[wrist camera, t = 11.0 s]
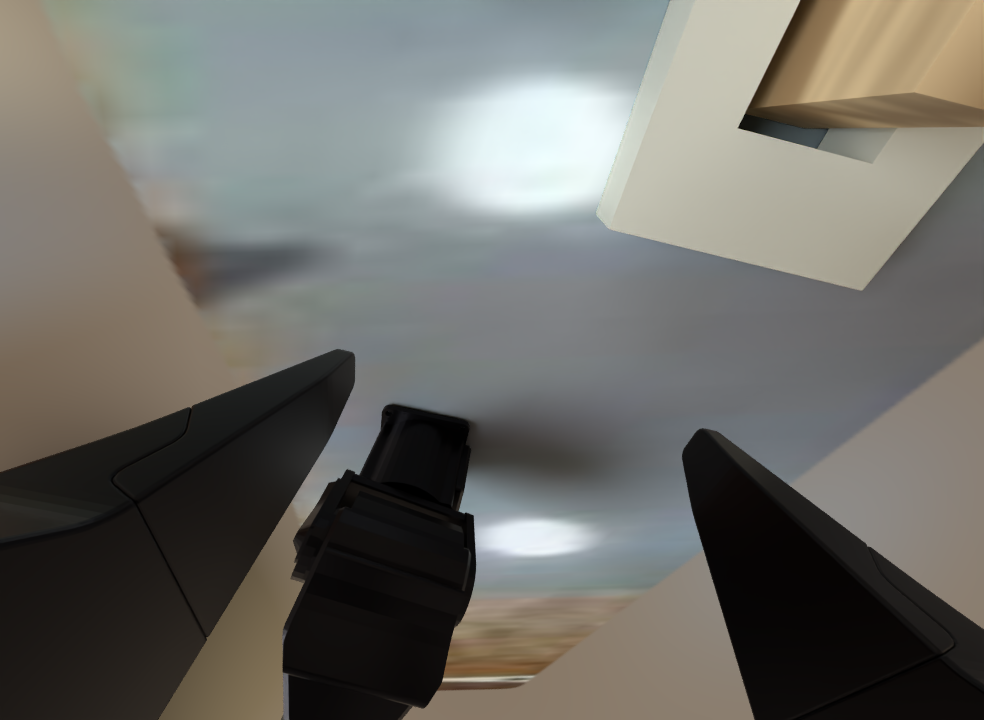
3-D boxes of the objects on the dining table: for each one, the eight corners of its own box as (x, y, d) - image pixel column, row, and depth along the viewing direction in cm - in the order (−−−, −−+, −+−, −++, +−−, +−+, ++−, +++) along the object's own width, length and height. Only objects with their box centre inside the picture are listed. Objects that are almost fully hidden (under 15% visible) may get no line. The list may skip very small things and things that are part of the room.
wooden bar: (730, 110, 16) (913, 92, 9) (804, -50, 13) (1166, -283, 6) (804, 128, 16) (1049, 126, 9) (892, -27, 14) (1354, -224, 6)
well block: (595, 213, 19) (608, 229, 16) (799, -372, 10) (911, -574, 7) (810, 266, 19) (862, 290, 16) (1173, -244, 11) (1415, -385, 8)
